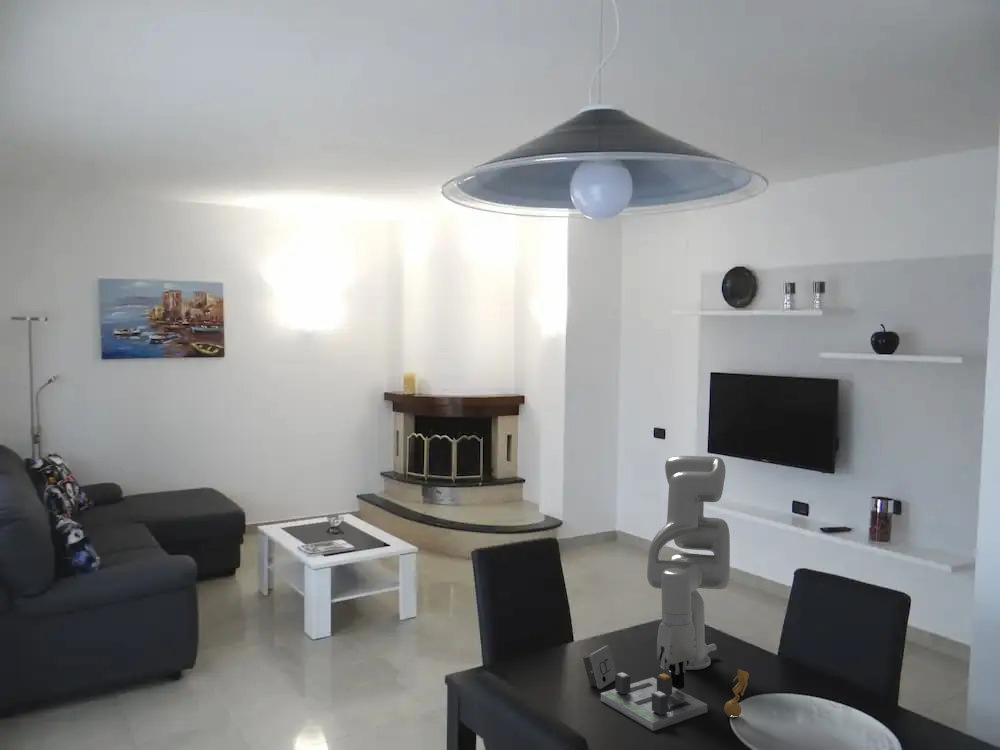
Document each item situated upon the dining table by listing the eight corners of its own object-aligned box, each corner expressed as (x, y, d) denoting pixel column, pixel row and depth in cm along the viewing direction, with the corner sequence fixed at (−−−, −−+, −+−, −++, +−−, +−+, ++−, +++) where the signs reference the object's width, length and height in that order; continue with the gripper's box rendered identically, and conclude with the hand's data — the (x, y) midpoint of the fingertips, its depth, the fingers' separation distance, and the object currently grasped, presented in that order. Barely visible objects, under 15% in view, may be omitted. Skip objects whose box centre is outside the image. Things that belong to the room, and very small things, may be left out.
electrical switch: (600, 690, 214) (596, 656, 214) (584, 688, 217) (580, 653, 218) (618, 679, 221) (614, 645, 222) (602, 676, 225) (598, 643, 225)
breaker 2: (659, 707, 198) (659, 690, 198) (667, 712, 195) (667, 694, 195) (651, 710, 196) (651, 692, 196) (660, 714, 194) (660, 696, 194)
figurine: (720, 709, 201) (720, 662, 201) (745, 709, 201) (744, 662, 201) (728, 725, 193) (727, 675, 193) (753, 725, 193) (753, 676, 192)
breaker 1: (622, 687, 210) (622, 671, 210) (630, 691, 207) (630, 675, 207) (615, 690, 208) (615, 673, 208) (622, 694, 206) (622, 677, 206)
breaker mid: (664, 689, 208) (663, 672, 208) (672, 694, 205) (672, 676, 205) (657, 692, 207) (656, 674, 206) (665, 696, 204) (664, 678, 204)
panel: (652, 684, 217) (652, 676, 217) (707, 712, 200) (707, 703, 200) (600, 700, 208) (600, 692, 208) (653, 731, 191) (652, 722, 191)
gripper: (687, 608, 215) (688, 675, 215) (645, 618, 207) (646, 688, 207) (708, 615, 208) (708, 685, 209) (665, 626, 201) (666, 699, 201)
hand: (677, 686), depth 208 cm, fingers closed
